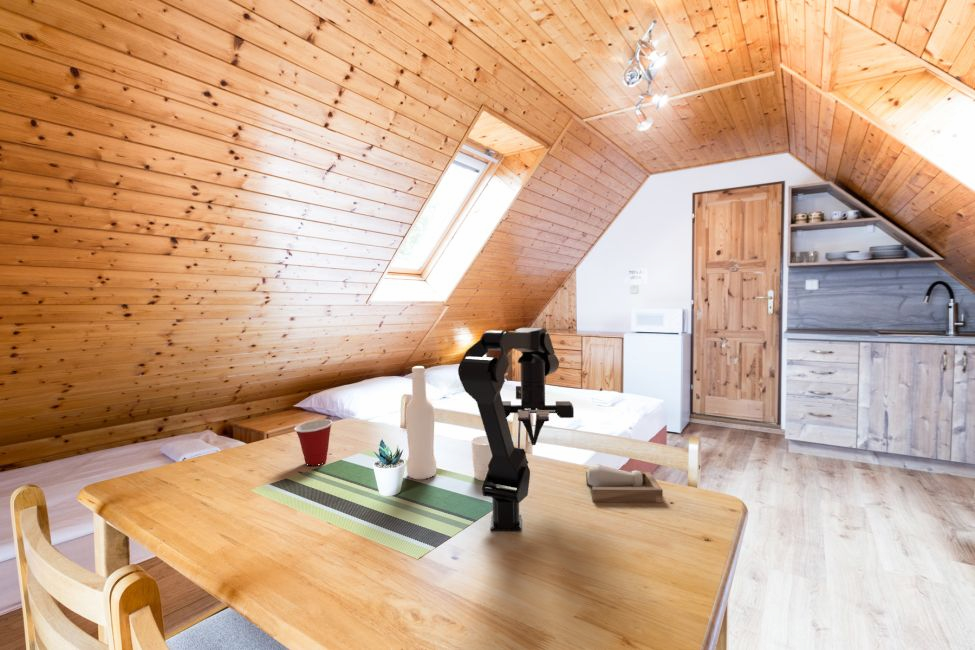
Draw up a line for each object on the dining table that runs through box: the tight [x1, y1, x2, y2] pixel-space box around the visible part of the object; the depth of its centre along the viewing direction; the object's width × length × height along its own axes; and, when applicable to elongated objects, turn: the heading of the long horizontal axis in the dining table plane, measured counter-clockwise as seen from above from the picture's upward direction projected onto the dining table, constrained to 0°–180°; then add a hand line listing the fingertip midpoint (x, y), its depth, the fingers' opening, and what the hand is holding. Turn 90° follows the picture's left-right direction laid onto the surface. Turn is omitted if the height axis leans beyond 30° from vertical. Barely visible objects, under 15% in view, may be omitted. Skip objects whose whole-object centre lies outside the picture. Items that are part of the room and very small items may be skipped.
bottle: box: [404, 365, 438, 480], centre depth 133 cm, size 8×8×30 cm
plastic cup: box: [293, 419, 333, 465], centre depth 145 cm, size 11×11×12 cm
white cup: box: [471, 435, 492, 482], centre depth 132 cm, size 8×8×10 cm
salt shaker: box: [587, 463, 643, 487], centre depth 121 cm, size 6×6×13 cm
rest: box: [585, 470, 664, 503], centre depth 120 cm, size 12×16×3 cm
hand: (533, 444), depth 117 cm, fingers closed
